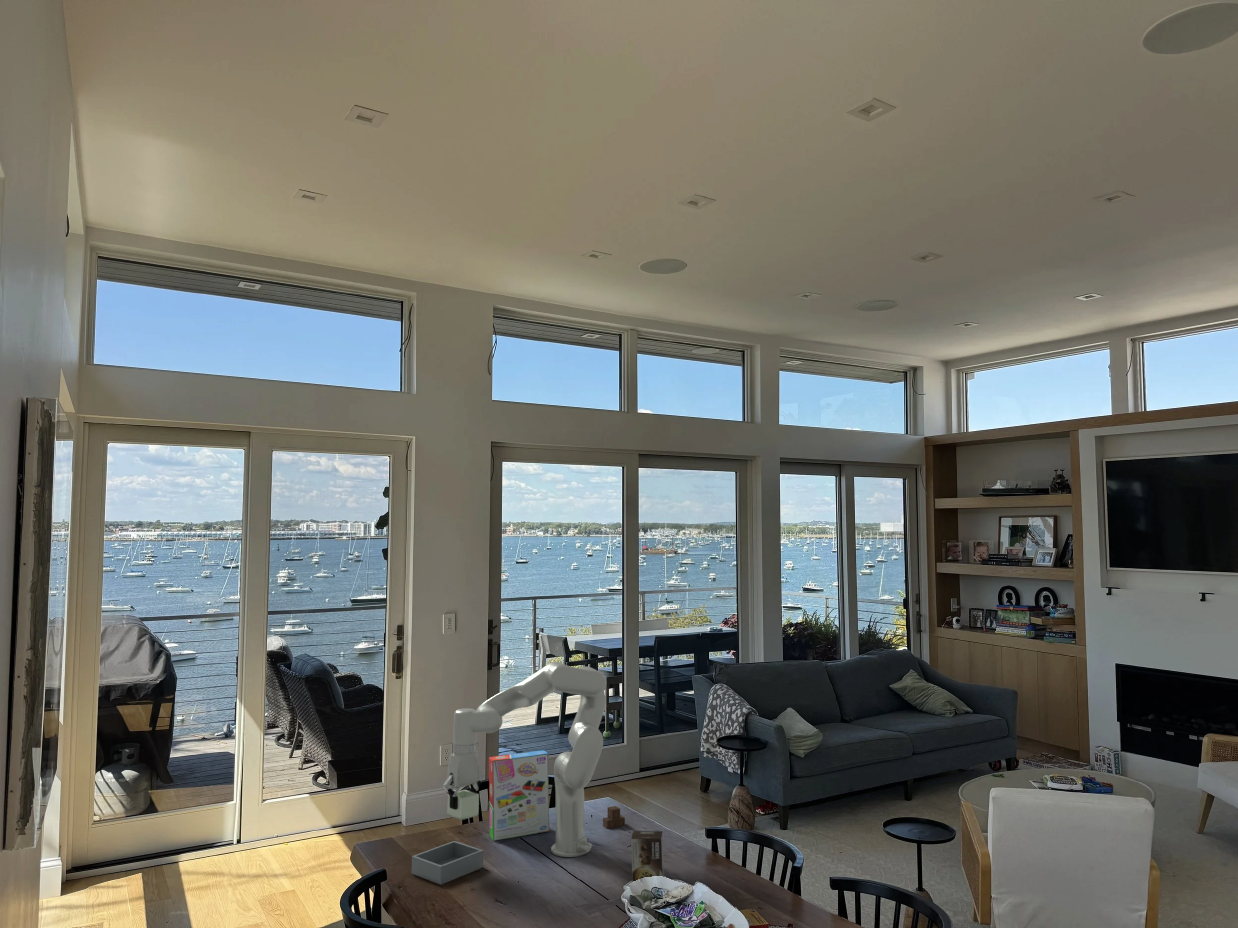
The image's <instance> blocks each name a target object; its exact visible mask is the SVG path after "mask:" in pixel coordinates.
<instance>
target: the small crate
mask: <svg viewBox="0 0 1238 928" xmlns="http://www.w3.org/2000/svg"><path fill="white" fill-rule="evenodd" d="M456 796H458V808H457V809H456V810H455V809H452V808H450V795H448V794H447V807H446V808H447V809H446V815H447V816H448V817H450V818H452V819H456V820H459V821H463V820H467V819H470V818H473V817H477V816H479V809H480V807H479V805H480V802H479V801H480V794H479V793H473V792H470V791H469V790H466V789H463V790H458V792H457V795H456Z"/></svg>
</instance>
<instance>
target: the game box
mask: <svg viewBox="0 0 1238 928" xmlns="http://www.w3.org/2000/svg"><path fill="white" fill-rule="evenodd" d="M488 777H489V779H488V782H489V784H488V785H489V787H488V794H489V795H488V797H489V798H488V799H489V801H488V803H489V805H488V807H489V808H488V809H489V811H488V812H489V813H488V814H489V821H488V822H489V823H488V824H489V825H488V826H489V837H490V839H491V840H492V841H494V842H495V841H500V840H506V839H513V838H517V837H518V838H519V837H525V836H529V835H535V834H539V833H540V834H541V833H545V832H550V807H549V806H550V803H549V801H550V800H549V796H550V795H549V753H548V752H547V751H545V750H544V749H542V750H536V751H527V752H518V753H510V754H504V755H503V754H502V755H495V756H490V757H488Z"/></svg>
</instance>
